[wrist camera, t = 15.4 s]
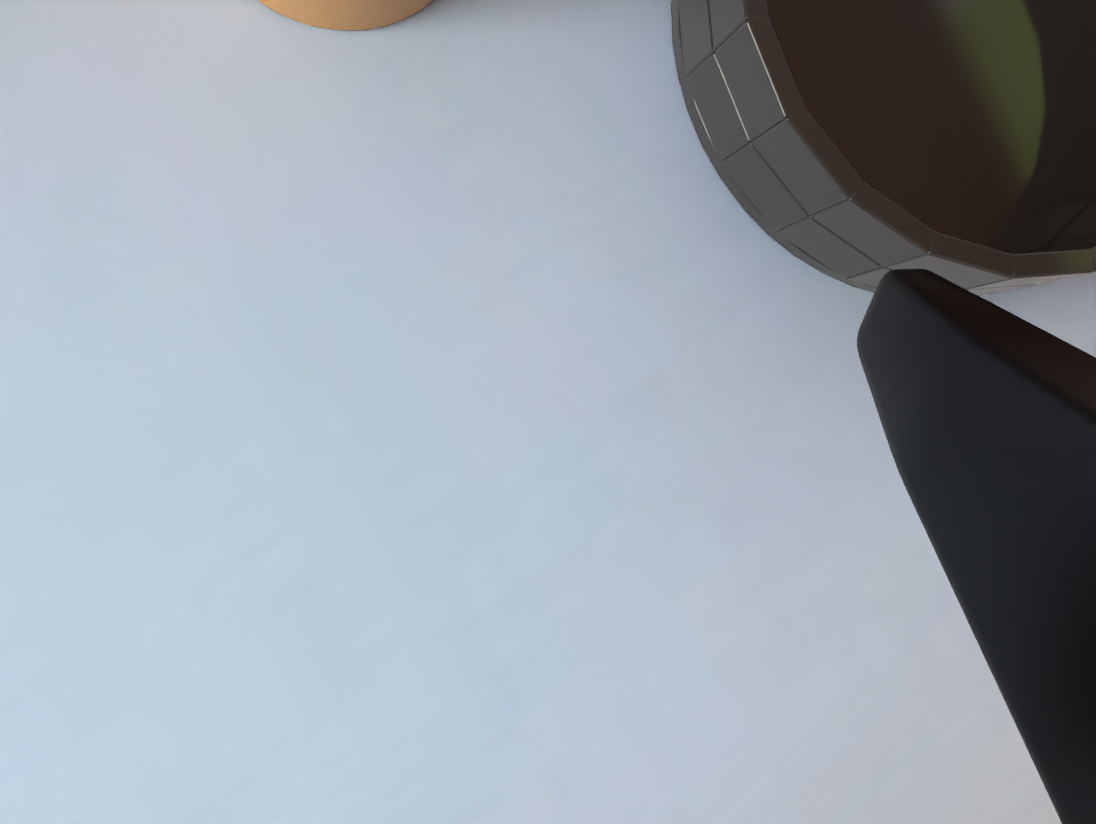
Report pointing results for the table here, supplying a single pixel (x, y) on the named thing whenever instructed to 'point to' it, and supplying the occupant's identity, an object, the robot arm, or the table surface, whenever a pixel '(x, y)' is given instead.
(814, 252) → the pan
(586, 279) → the table surface
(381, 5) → the cracker tube
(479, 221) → the table surface
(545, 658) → the table surface
